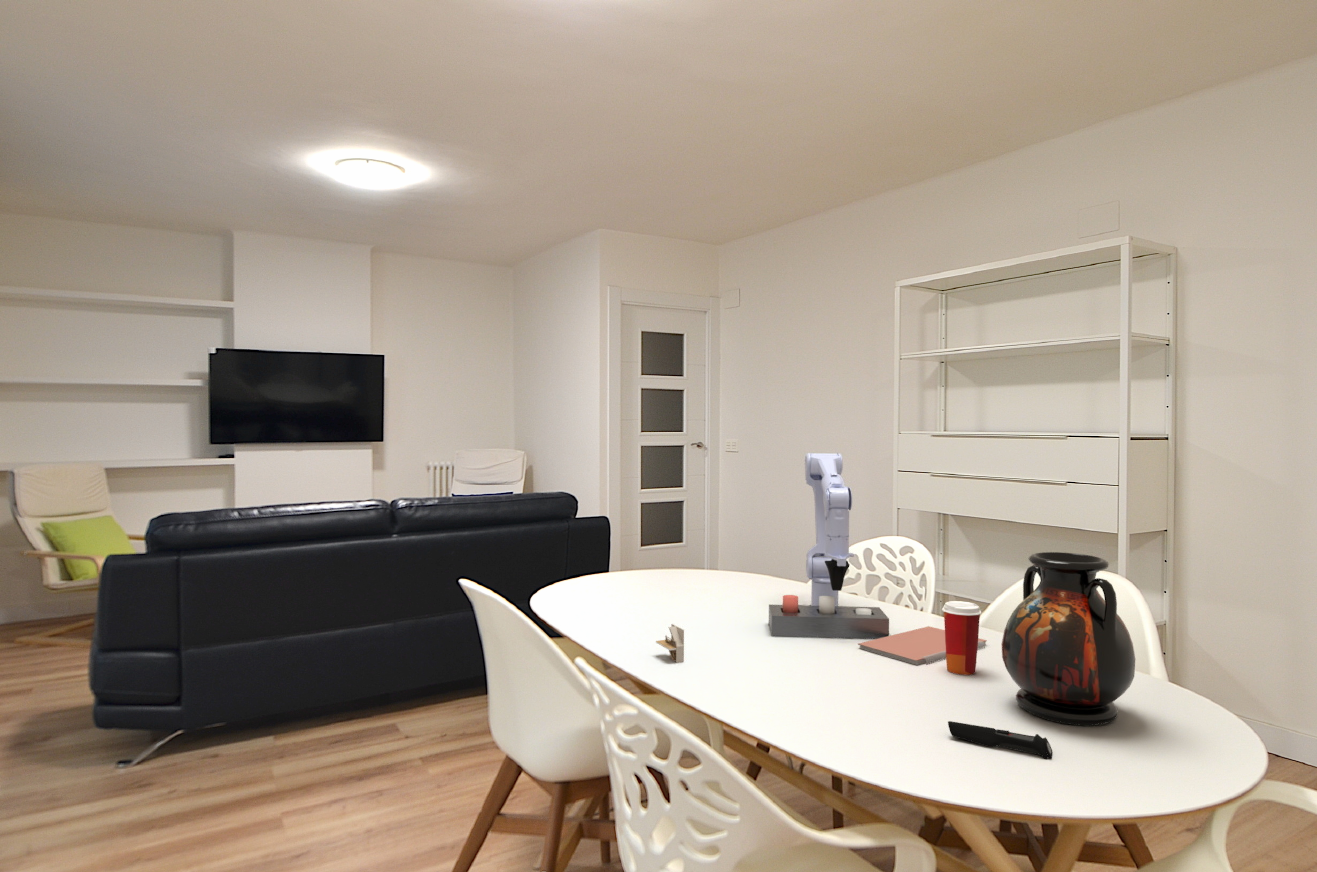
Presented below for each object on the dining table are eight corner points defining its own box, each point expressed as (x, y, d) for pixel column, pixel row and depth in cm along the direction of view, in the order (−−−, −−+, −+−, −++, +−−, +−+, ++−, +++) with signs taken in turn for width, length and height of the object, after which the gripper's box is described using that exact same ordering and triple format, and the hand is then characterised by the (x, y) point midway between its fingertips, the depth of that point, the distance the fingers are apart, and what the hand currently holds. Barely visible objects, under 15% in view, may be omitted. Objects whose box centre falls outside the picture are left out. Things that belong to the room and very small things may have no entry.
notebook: (920, 669, 168) (920, 660, 168) (857, 650, 181) (857, 642, 181) (991, 648, 184) (991, 640, 184) (928, 632, 197) (928, 625, 197)
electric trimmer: (950, 734, 132) (950, 716, 132) (1052, 753, 125) (1052, 733, 125) (946, 742, 129) (946, 723, 129) (1051, 761, 121) (1051, 741, 121)
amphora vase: (975, 698, 149) (977, 551, 148) (1060, 685, 156) (1063, 545, 156) (1071, 741, 129) (1073, 571, 128) (1164, 724, 136) (1167, 563, 136)
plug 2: (854, 627, 197) (854, 607, 197) (869, 627, 197) (869, 608, 197) (856, 631, 194) (857, 611, 194) (872, 631, 193) (872, 611, 193)
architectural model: (670, 666, 169) (670, 631, 169) (655, 657, 175) (656, 624, 175) (684, 664, 170) (684, 629, 170) (669, 655, 177) (669, 622, 176)
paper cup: (974, 665, 169) (975, 600, 169) (985, 677, 161) (986, 609, 161) (936, 664, 170) (937, 599, 169) (946, 675, 162) (947, 608, 162)
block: (768, 623, 203) (768, 604, 203) (878, 626, 201) (879, 607, 201) (771, 636, 191) (771, 615, 191) (888, 639, 189) (889, 618, 189)
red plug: (782, 614, 199) (782, 594, 199) (797, 614, 199) (797, 595, 198) (783, 618, 195) (783, 597, 195) (798, 618, 195) (798, 598, 195)
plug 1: (818, 615, 198) (818, 595, 198) (833, 615, 198) (833, 595, 198) (820, 619, 194) (820, 598, 194) (835, 619, 194) (835, 599, 194)
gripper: (859, 540, 188) (858, 596, 188) (848, 531, 203) (847, 584, 203) (829, 539, 189) (828, 596, 189) (820, 531, 203) (820, 583, 203)
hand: (836, 590), depth 196 cm, fingers closed
